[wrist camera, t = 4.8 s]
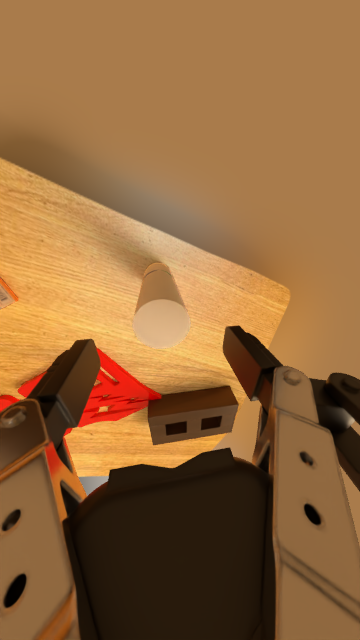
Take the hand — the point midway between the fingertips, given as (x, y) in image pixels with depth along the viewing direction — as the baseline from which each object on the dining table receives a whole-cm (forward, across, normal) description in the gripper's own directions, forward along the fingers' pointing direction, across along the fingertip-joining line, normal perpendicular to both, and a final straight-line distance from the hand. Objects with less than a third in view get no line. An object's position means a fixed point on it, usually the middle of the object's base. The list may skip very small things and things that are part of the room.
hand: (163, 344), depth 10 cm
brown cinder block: (+17, -6, +35) cm, 39 cm away
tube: (+17, 0, 0) cm, 17 cm away
